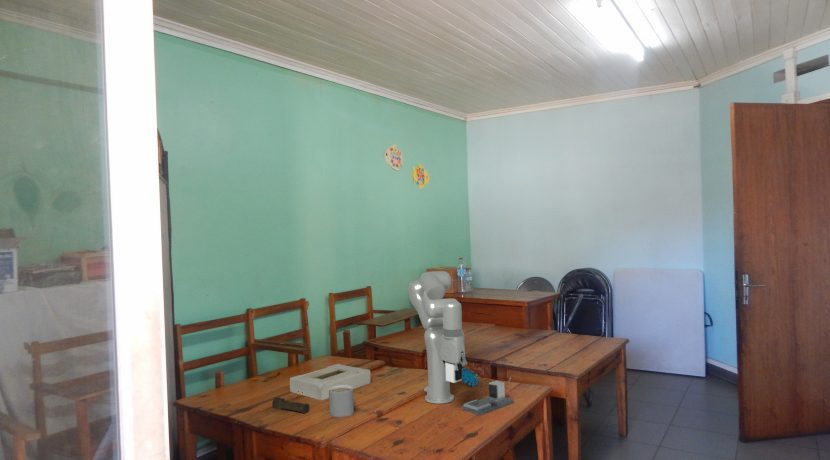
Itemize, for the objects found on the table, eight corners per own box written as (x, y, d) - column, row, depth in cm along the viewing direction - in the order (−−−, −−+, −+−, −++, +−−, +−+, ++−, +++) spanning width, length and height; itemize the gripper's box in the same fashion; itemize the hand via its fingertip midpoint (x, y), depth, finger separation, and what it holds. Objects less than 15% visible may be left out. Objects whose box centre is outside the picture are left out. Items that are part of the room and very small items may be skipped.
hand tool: (310, 412, 217) (310, 400, 217) (303, 415, 214) (303, 403, 214) (277, 405, 227) (277, 395, 227) (270, 408, 223) (270, 397, 223)
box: (322, 402, 231) (371, 383, 256) (321, 384, 231) (370, 367, 256) (289, 394, 245) (338, 377, 270) (288, 377, 245) (338, 362, 271)
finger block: (445, 380, 208) (445, 363, 208) (455, 377, 211) (454, 360, 211) (453, 382, 204) (453, 365, 204) (463, 380, 208) (462, 362, 208)
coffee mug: (343, 418, 207) (342, 393, 207) (324, 414, 213) (323, 390, 213) (364, 408, 218) (363, 384, 219) (345, 405, 224) (345, 381, 224)
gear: (467, 385, 241) (457, 367, 247) (460, 392, 243) (451, 374, 249) (483, 383, 248) (474, 366, 254) (476, 391, 250) (467, 373, 256)
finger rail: (461, 409, 213) (460, 388, 213) (495, 397, 227) (494, 378, 227) (479, 415, 206) (478, 394, 206) (513, 402, 219) (512, 382, 219)
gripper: (431, 331, 211) (432, 375, 211) (461, 337, 198) (462, 385, 199) (444, 328, 216) (445, 372, 216) (474, 334, 203) (475, 380, 203)
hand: (453, 377), depth 207 cm, fingers closed on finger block, 4 cm apart
